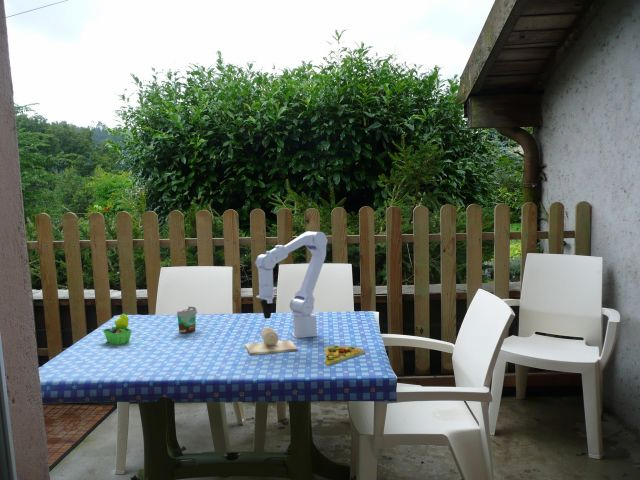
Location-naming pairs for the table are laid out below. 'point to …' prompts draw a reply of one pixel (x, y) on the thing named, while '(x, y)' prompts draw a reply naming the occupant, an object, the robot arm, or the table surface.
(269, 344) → the candle
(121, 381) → the table surface
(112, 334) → the green potted plant
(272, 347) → the board
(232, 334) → the table surface
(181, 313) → the food container
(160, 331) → the table surface
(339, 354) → the pizza slice
